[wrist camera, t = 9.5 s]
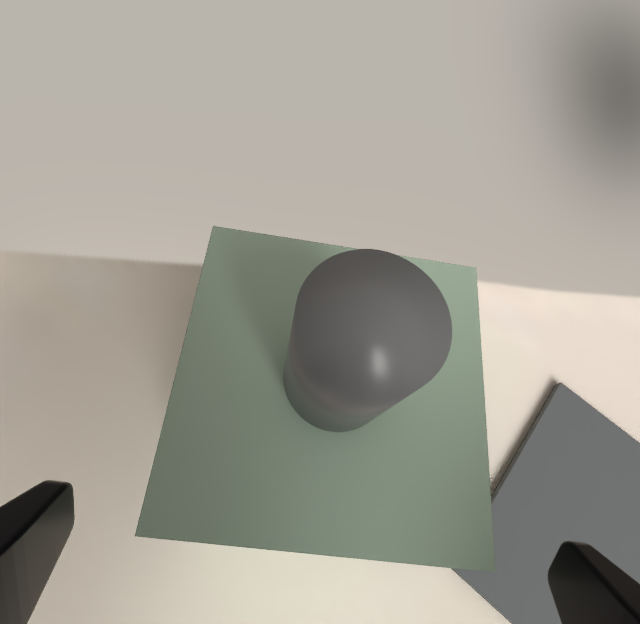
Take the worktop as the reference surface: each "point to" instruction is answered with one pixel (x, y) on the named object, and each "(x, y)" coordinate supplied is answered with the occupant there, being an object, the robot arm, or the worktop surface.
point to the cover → (327, 408)
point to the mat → (561, 506)
